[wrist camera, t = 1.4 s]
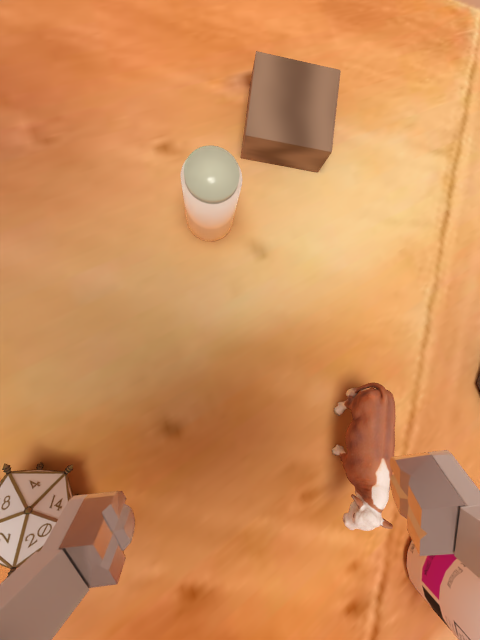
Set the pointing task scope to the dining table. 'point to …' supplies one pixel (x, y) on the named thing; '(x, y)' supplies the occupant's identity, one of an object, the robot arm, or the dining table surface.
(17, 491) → the game die
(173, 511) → the dining table surface
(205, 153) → the jar
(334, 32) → the dining table surface
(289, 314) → the dining table surface
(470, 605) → the supplement can
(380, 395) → the bull figurine
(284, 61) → the plinth
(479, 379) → the liquor
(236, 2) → the dining table surface
